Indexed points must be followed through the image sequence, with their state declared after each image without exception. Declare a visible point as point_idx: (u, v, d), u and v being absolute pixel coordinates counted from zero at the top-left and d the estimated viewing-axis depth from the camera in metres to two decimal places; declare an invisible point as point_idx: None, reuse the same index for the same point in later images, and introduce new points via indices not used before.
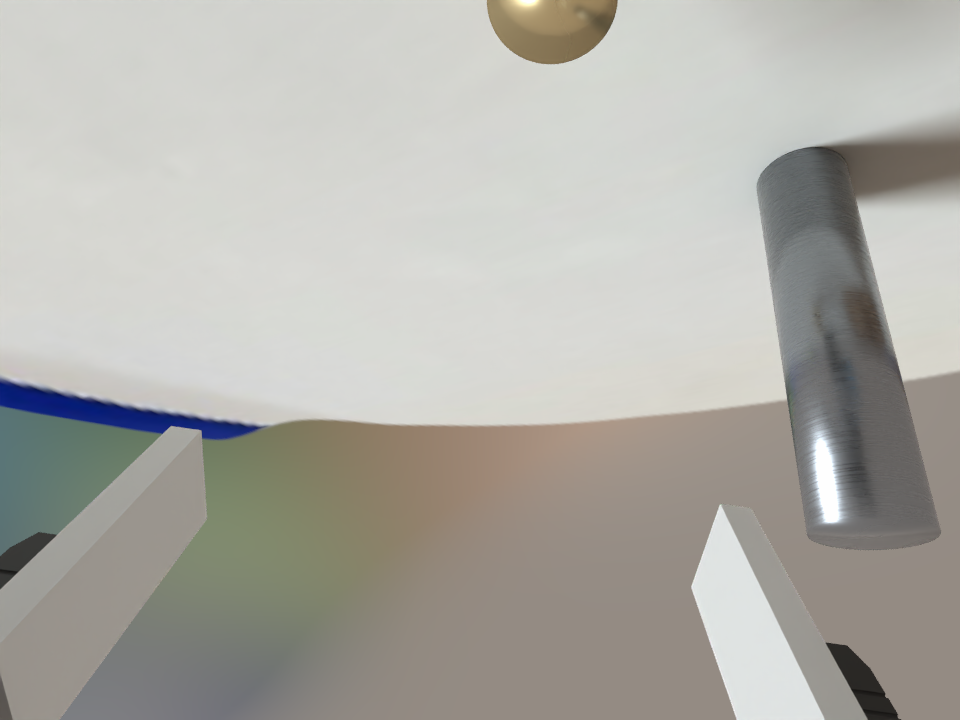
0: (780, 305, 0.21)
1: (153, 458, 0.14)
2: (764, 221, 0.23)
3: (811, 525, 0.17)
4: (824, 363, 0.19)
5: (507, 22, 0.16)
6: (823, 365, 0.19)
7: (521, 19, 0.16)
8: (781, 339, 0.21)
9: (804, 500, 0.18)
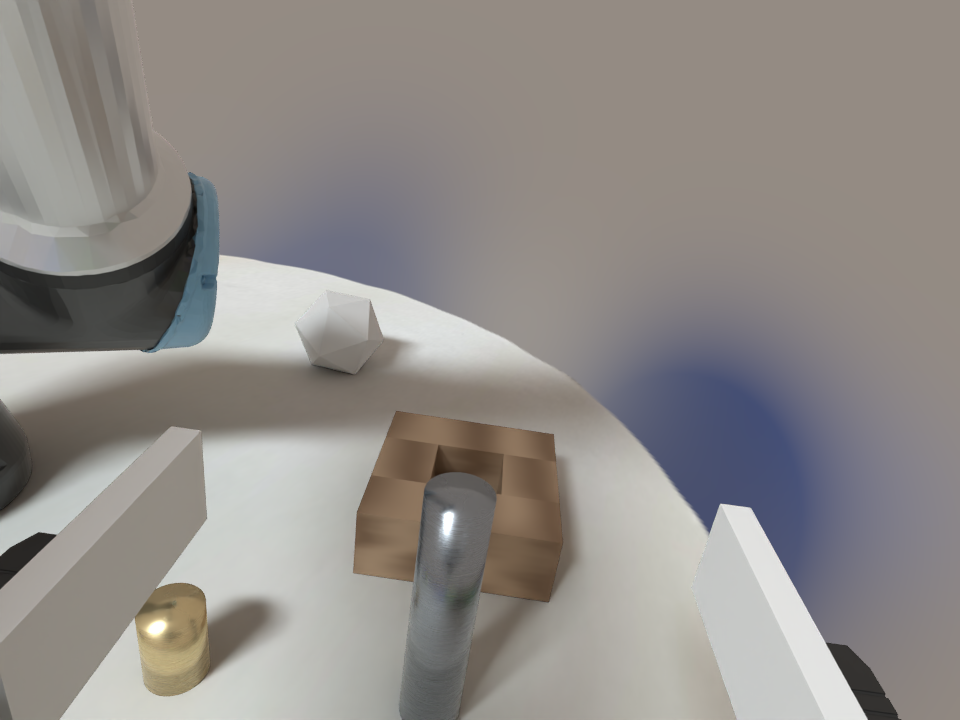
0: (413, 633, 0.29)
1: (153, 458, 0.14)
2: (408, 694, 0.31)
3: (430, 506, 0.26)
4: (415, 568, 0.29)
5: (149, 622, 0.30)
6: None
7: (157, 618, 0.30)
8: (419, 618, 0.29)
9: (431, 524, 0.26)
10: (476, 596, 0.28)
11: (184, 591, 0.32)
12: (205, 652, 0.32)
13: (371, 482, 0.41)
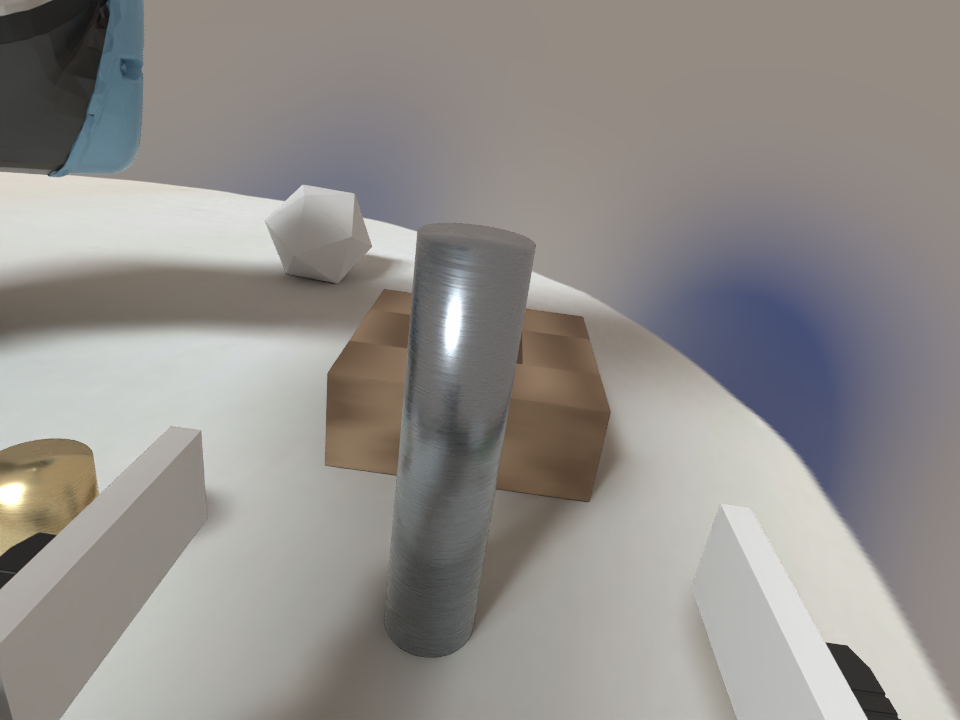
0: (404, 486, 0.19)
1: (153, 458, 0.14)
2: (397, 592, 0.20)
3: (427, 242, 0.16)
4: None
5: None
6: None
7: (10, 476, 0.20)
8: (411, 457, 0.18)
9: (430, 275, 0.16)
10: (502, 419, 0.18)
11: (62, 447, 0.21)
12: None
13: (349, 346, 0.31)
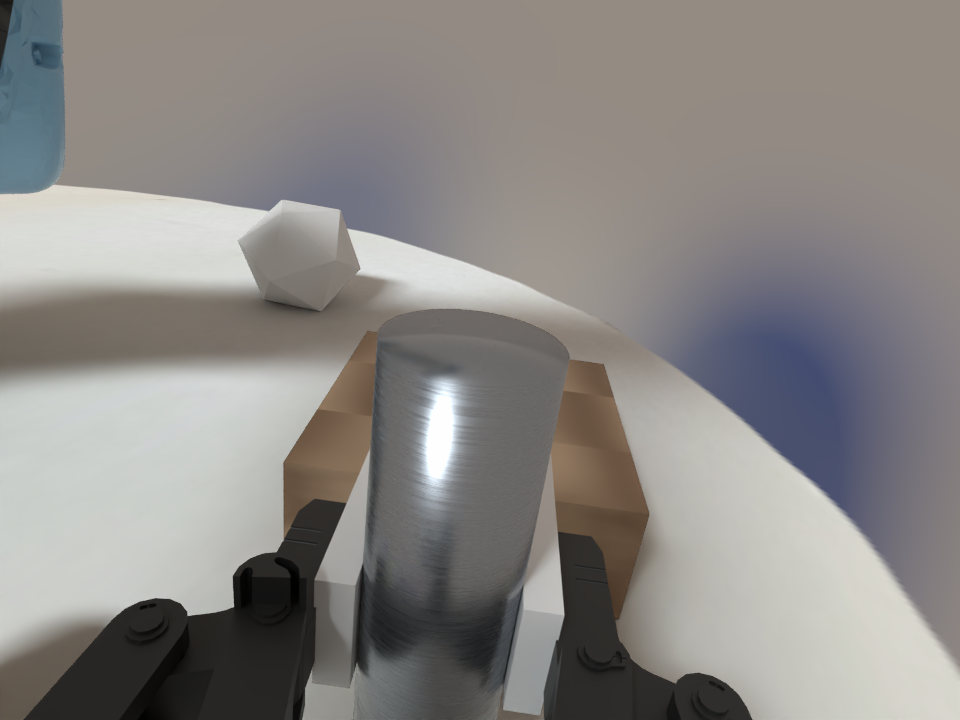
0: (364, 700, 0.12)
1: None
2: None
3: (391, 362, 0.09)
4: None
5: None
6: None
7: None
8: (374, 668, 0.12)
9: (396, 415, 0.10)
10: (513, 612, 0.12)
11: None
12: None
13: (316, 418, 0.25)
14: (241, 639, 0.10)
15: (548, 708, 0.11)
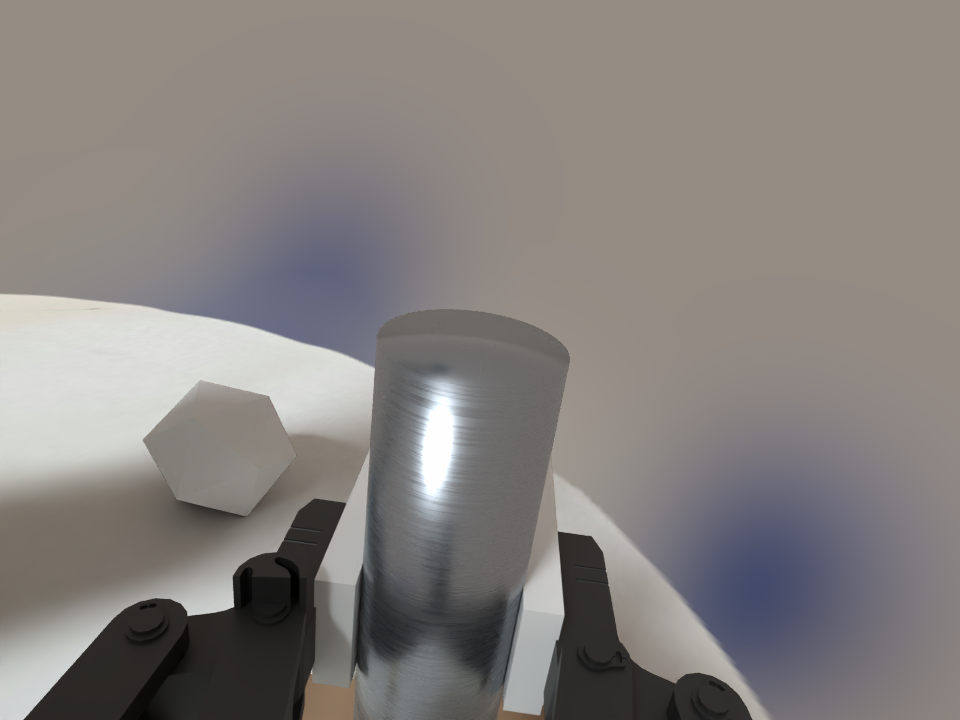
0: (364, 701, 0.12)
1: None
2: None
3: (391, 363, 0.09)
4: None
5: None
6: None
7: None
8: (374, 669, 0.12)
9: (395, 415, 0.09)
10: (513, 613, 0.12)
11: None
12: None
13: None
14: (241, 639, 0.10)
15: (548, 708, 0.11)
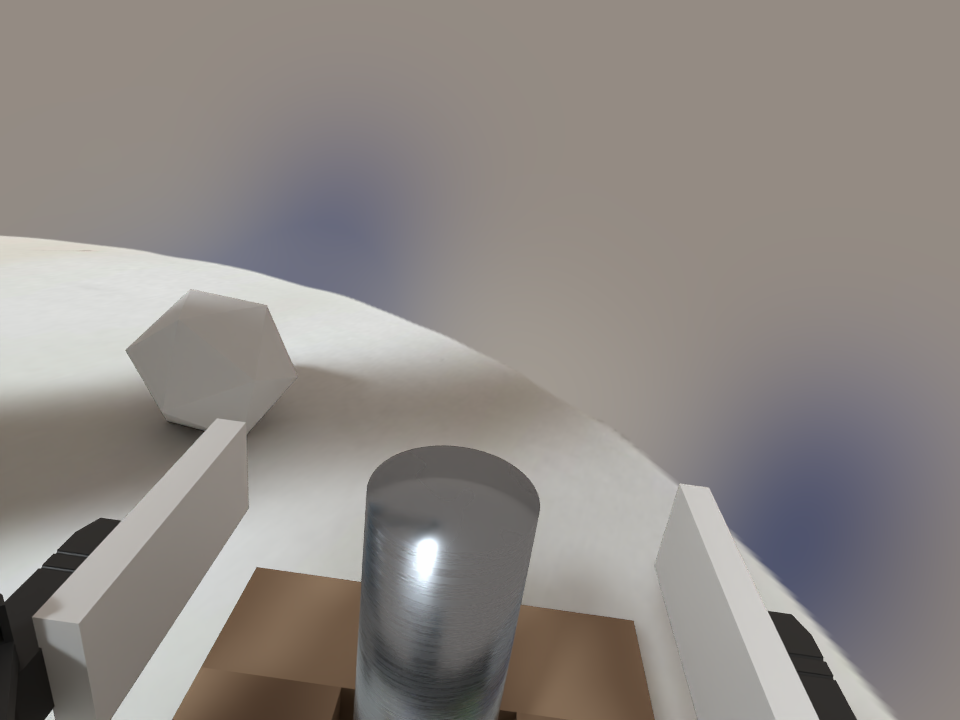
0: None
1: (204, 448, 0.14)
2: None
3: (378, 524, 0.10)
4: None
5: None
6: None
7: None
8: None
9: (383, 568, 0.11)
10: None
11: None
12: None
13: None
14: None
15: None
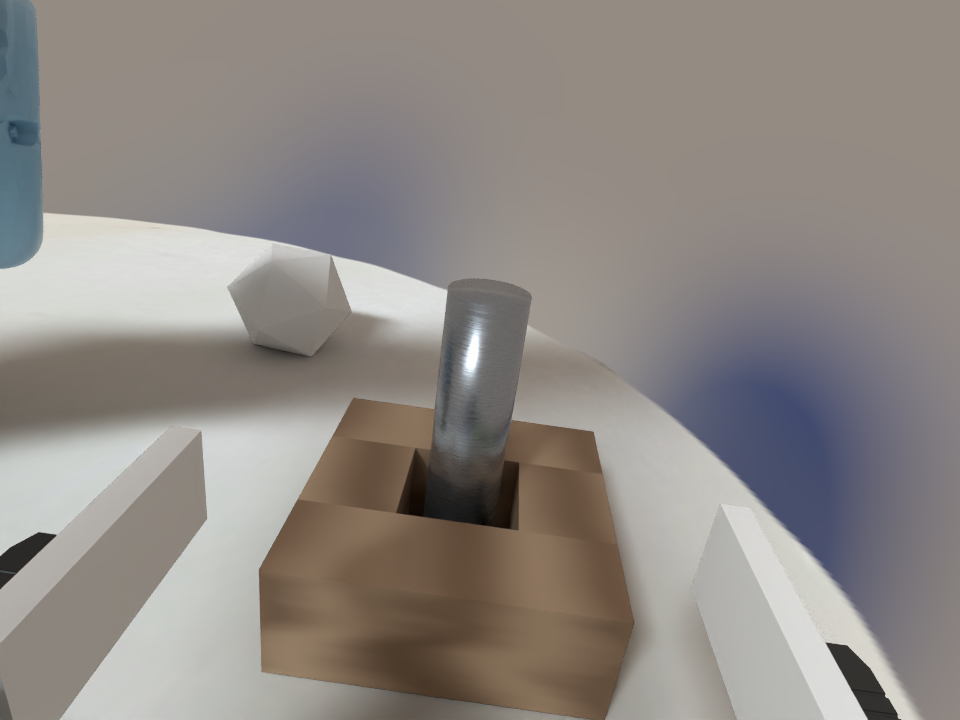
0: (435, 470, 0.26)
1: (153, 458, 0.14)
2: None
3: (456, 297, 0.22)
4: None
5: None
6: None
7: None
8: (441, 448, 0.25)
9: (457, 320, 0.23)
10: (507, 420, 0.25)
11: None
12: None
13: (295, 511, 0.24)
14: None
15: None
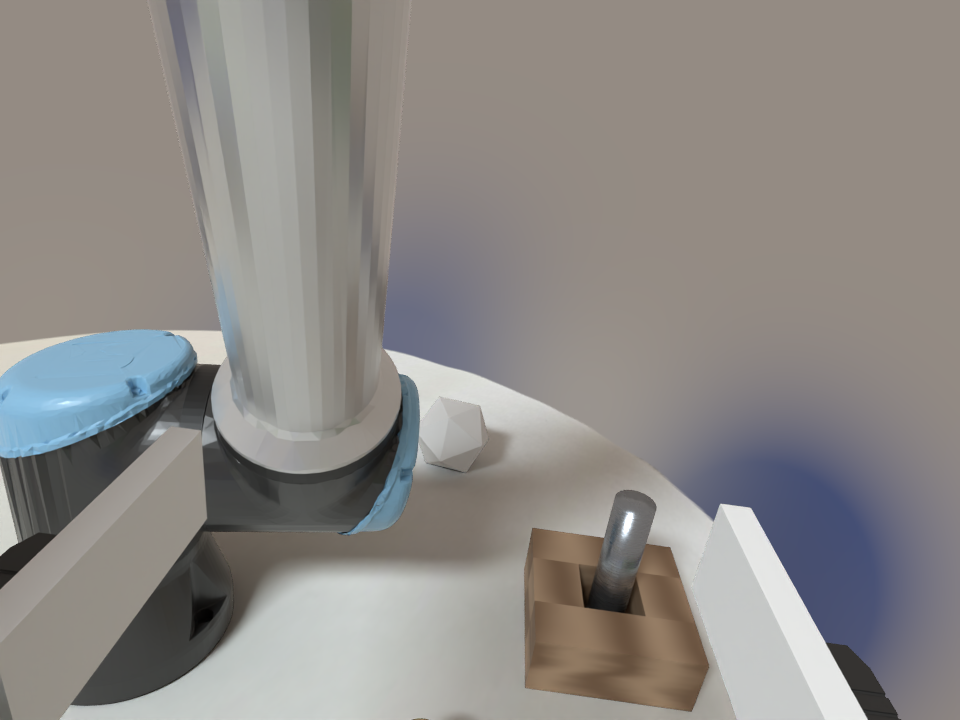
0: (601, 584, 0.50)
1: (154, 458, 0.14)
2: None
3: (622, 509, 0.47)
4: (602, 545, 0.50)
5: None
6: (602, 545, 0.50)
7: None
8: (606, 574, 0.50)
9: (622, 519, 0.47)
10: (640, 561, 0.49)
11: None
12: None
13: (537, 608, 0.49)
14: None
15: None
